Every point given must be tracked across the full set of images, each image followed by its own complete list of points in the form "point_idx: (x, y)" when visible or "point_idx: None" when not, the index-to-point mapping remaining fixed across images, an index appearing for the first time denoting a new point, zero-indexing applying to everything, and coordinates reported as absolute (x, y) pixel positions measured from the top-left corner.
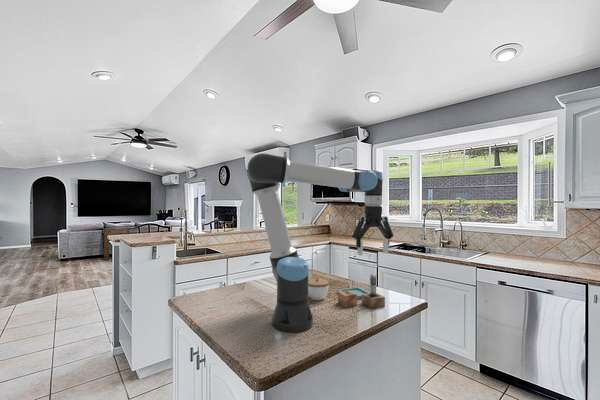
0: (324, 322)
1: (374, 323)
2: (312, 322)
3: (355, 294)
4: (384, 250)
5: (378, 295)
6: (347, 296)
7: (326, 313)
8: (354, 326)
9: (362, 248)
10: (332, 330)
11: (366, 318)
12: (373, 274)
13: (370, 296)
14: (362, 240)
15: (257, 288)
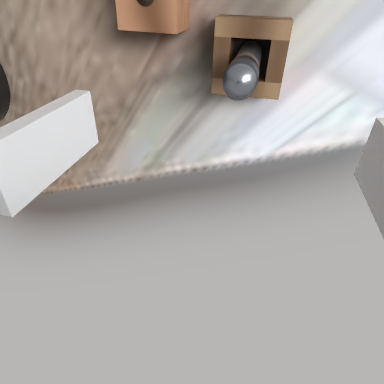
0: (39, 106)
1: (155, 169)
2: (2, 111)
3: (168, 33)
4: (374, 153)
5: (269, 71)
6: (130, 29)
7: (57, 50)
8: (102, 158)
9: (66, 168)
10: None
11: (153, 138)
12: (249, 73)
13: (227, 65)
14: (11, 214)
15: None
